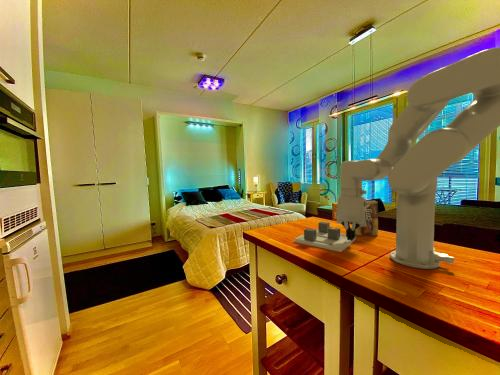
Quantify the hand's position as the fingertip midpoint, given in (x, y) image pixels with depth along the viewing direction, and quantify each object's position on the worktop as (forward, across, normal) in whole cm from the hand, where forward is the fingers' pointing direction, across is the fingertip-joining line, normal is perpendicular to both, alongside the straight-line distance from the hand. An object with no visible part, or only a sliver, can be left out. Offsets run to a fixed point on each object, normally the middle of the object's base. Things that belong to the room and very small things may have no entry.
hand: (350, 239), depth 84 cm
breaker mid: (+1, +7, 0) cm, 7 cm away
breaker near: (+1, +14, +7) cm, 15 cm away
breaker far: (+1, +14, -7) cm, 15 cm away
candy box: (+3, -1, -19) cm, 19 cm away
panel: (+3, +10, 0) cm, 10 cm away
